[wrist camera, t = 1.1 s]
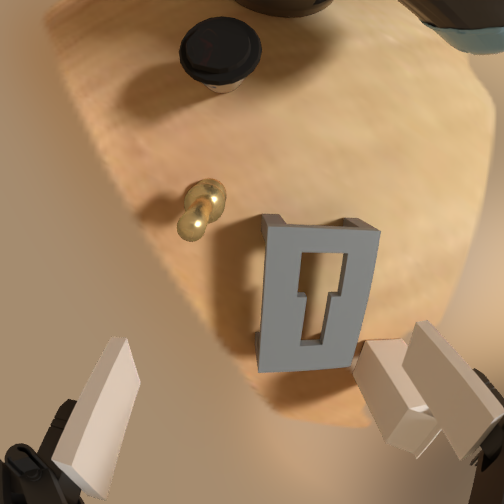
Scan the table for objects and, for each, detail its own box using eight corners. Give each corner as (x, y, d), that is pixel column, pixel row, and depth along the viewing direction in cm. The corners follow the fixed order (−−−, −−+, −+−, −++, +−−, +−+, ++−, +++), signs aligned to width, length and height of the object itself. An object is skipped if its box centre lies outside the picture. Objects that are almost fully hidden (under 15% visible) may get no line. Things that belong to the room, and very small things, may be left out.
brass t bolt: (192, 178, 31) (160, 197, 17) (226, 178, 32) (221, 198, 18) (192, 211, 33) (163, 255, 18) (225, 212, 33) (220, 256, 19)
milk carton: (351, 374, 43) (395, 465, 25) (365, 339, 40) (422, 432, 22) (386, 371, 43) (435, 452, 25) (401, 337, 41) (462, 418, 23)
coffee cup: (244, 41, 26) (248, 2, 17) (262, 93, 29) (275, 68, 19) (184, 59, 27) (166, 25, 17) (202, 111, 29) (188, 93, 20)
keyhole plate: (261, 213, 33) (268, 226, 28) (358, 218, 34) (380, 231, 28) (254, 344, 39) (258, 372, 33) (336, 340, 40) (350, 366, 34)
